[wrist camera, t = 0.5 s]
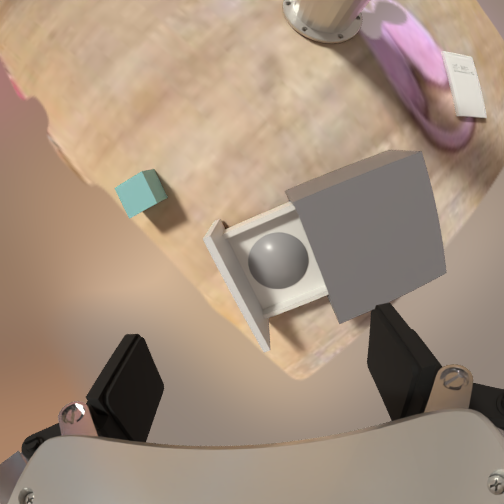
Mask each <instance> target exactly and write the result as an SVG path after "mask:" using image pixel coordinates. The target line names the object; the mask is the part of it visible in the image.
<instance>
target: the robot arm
mask: <svg viewBox="0 0 504 504" xmlns="http://www.w3.org/2000/svg"><path fill="white" fill-rule="evenodd" d="M369 1H370V0H284V1H283V13H284V16H285V18H286V20H287V21H288V23H289V24H290V25H291V26H292V28H293V29H295V30H296V31H297V32H298V33H300V34H301V35H303V36H305V37H307V38H309V39H311V40H314V41H318V42H322V43H340V42H344V41H347V40H349V39H351V38H352V37H354V36H355V35H356V34H357V32H358V31H359V29H360V28H361V25H362V14H361V11H362V10H363V9H364V7H365V6H366V5H367V4H368V3H369ZM303 30H305V31H303ZM339 37H340V38H339ZM367 364H368V368H369V371H370V373H371V375H372V377H373V379H374V381H375V384H376V386H377V388H378V390H379V393H380V395H381V397H382V399H383V402H384V404H385V406H386V408H387V411H388V413H389V415H390V418H391V420H392V421H390V422H386V423H383V424H379V425H375V426H371V427H367V428H363V429H358V430H354V431H349V432H344V433H340V434H335V435H329V436H324V437H318V438H312V439H305V440H298V441H290V442H281V443H271V444H260V445H259V444H258V445H241V446H186V445H168V444H156V443H146V440H147V437H148V434H149V431H150V428H151V425H152V422H153V420H154V417H155V414H156V411H157V408H158V405H159V402H160V399H161V397H162V394H163V390H164V384H163V382H162V379H161V377H160V375H159V372H158V370H157V368H156V366H155V364H154V361H153V359H152V356H151V354H150V352H149V349H148V347H147V344H146V342H145V339H144V338H143V337H141V336H140V335H139V334H127V335H125V336H124V338H123V339H122V341H121V342H120V344H119V345H118V347H117V348H116V350H115V351H114V353H113V354H112V356H111V358H110V359H109V361H108V362H107V364H106V365H105V367H104V369H103V370H102V372H101V374H100V375H99V377H98V378H97V380H96V381H95V383H94V385H93V386H92V388H91V390H90V391H89V393H88V394H87V396H86V398H87V400H88V401H87V403H86V404H85V403H84V402H80V401H75V402H71V403H69V404H67V405H66V406H64V407H63V408H62V410H61V411H60V413H59V415H58V420H59V423H58V424H55V425H53V426H51V427H49V428H46V429H44V430H42V431H39V432H37V433H35V434H32V435H31V436H29V437H27V438H26V439H25V441H24V442H23V444H22V453H20V452H19V451H17V452H16V453H15V454H13V455H12V456H11V457H9V458H8V459H7V460H5V461H4V462H3V463H1V464H0V503H1V504H504V389H499V388H494V387H490V386H485V385H481V384H476V383H473V376H472V374H471V372H470V371H469V370H468V369H467V368H465V367H463V366H461V365H454V364H452V365H446V366H444V367H442V366H441V364H440V363H439V362H438V360H437V359H436V358H435V356H434V355H433V354H432V352H431V351H430V350H429V349H428V347H427V346H426V345H425V343H424V342H423V341H422V339H421V338H420V337H419V336H418V334H417V333H416V332H415V331H414V330H413V329H411V328H410V327H409V326H408V325H407V323H406V322H405V321H404V320H403V318H402V317H401V316H400V315H399V313H398V312H397V311H396V310H395V308H394V307H393V306H392V305H391V304H390V303H384V304H380V305H376V306H375V309H373V310H372V311H371V322H370V336H369V348H368V358H367Z"/></svg>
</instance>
